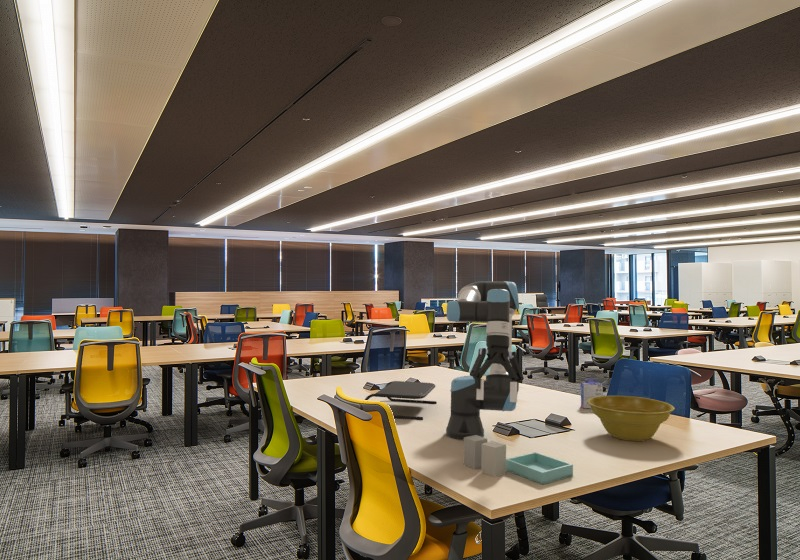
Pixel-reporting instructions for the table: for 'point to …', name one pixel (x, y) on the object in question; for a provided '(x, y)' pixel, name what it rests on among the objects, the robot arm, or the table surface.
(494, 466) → the stone
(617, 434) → the planter bowl
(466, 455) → the stone
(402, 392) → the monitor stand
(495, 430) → the table surface
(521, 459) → the bin
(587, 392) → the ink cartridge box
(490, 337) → the robot arm
